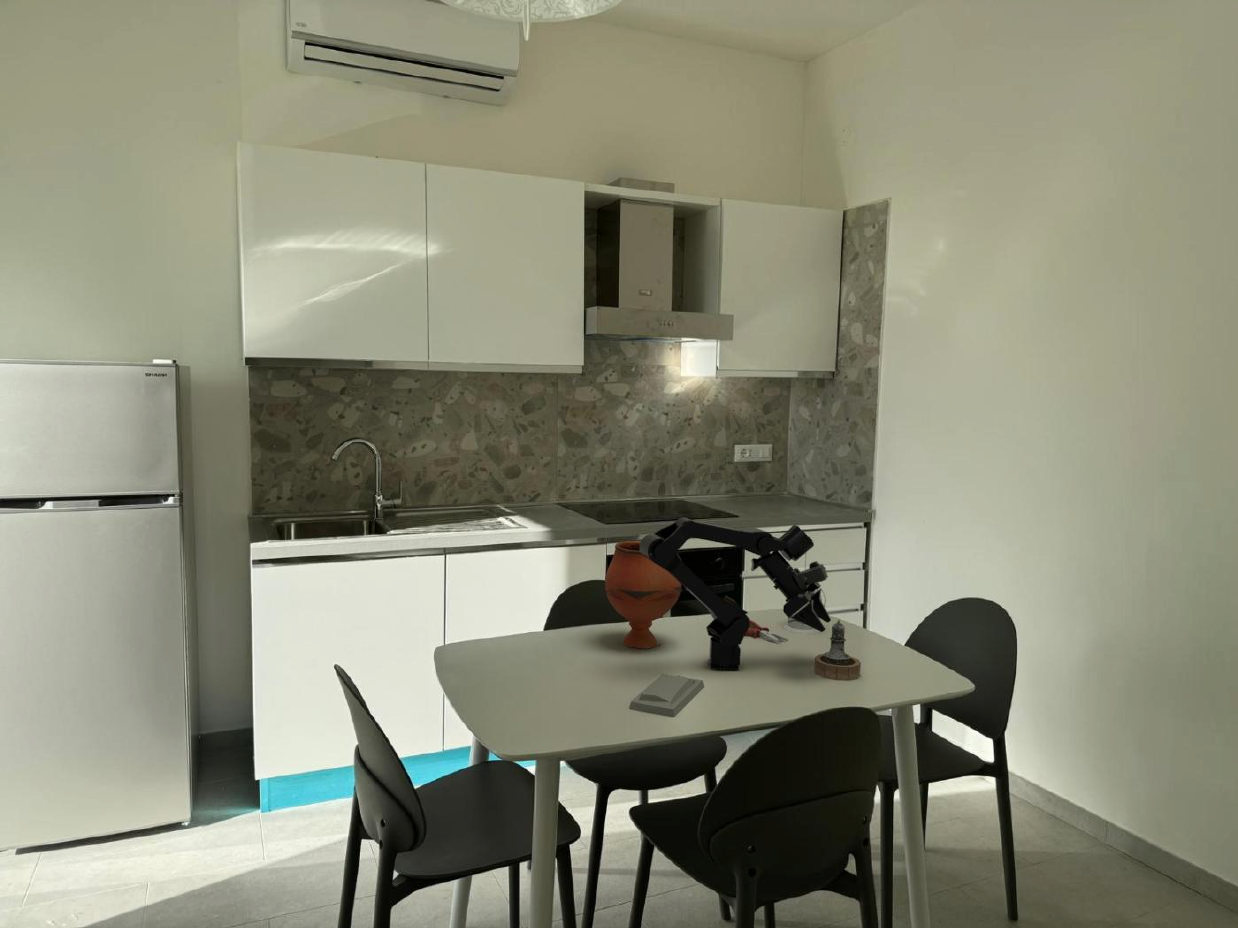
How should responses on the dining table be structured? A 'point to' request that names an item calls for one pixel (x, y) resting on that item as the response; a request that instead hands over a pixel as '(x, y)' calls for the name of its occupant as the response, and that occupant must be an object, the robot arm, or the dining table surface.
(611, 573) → the goblet
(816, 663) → the shaker socket
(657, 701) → the grey stepped rectangular block
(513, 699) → the dining table surface
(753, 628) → the pliers
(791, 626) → the french press
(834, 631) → the salt shaker
